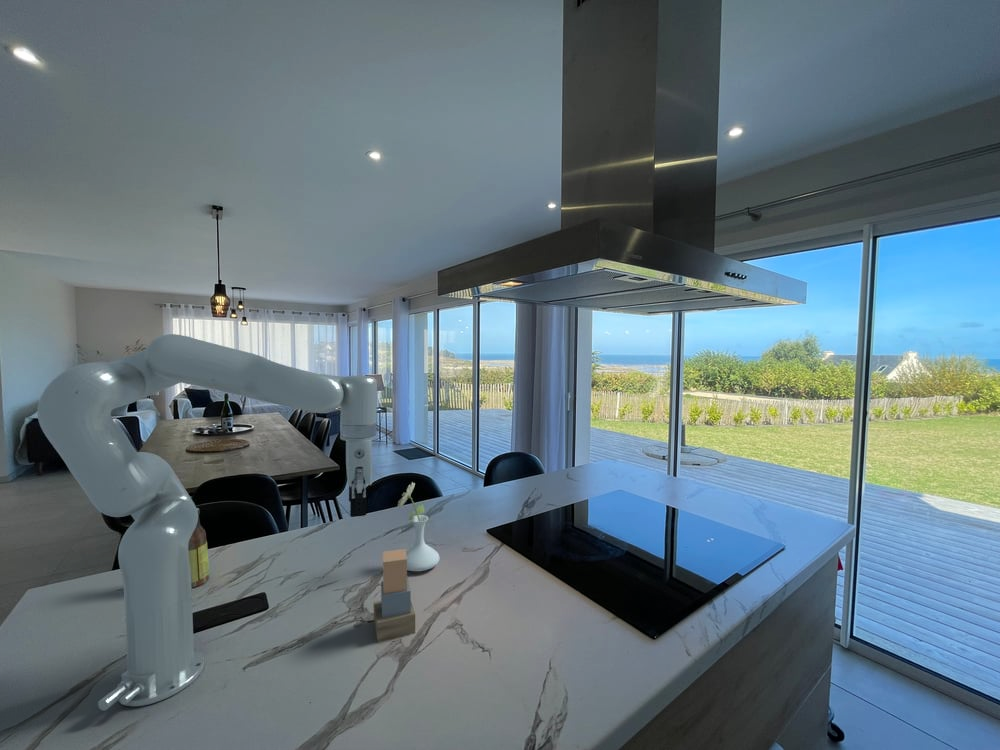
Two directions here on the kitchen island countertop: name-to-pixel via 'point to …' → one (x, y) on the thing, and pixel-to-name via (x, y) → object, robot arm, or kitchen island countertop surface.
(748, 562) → the kitchen island countertop surface
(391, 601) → the slate-grey cube
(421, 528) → the flower in vase
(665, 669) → the kitchen island countertop surface
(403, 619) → the light brown wooden plinth
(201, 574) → the sauce bottle
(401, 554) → the peach rectangular block
